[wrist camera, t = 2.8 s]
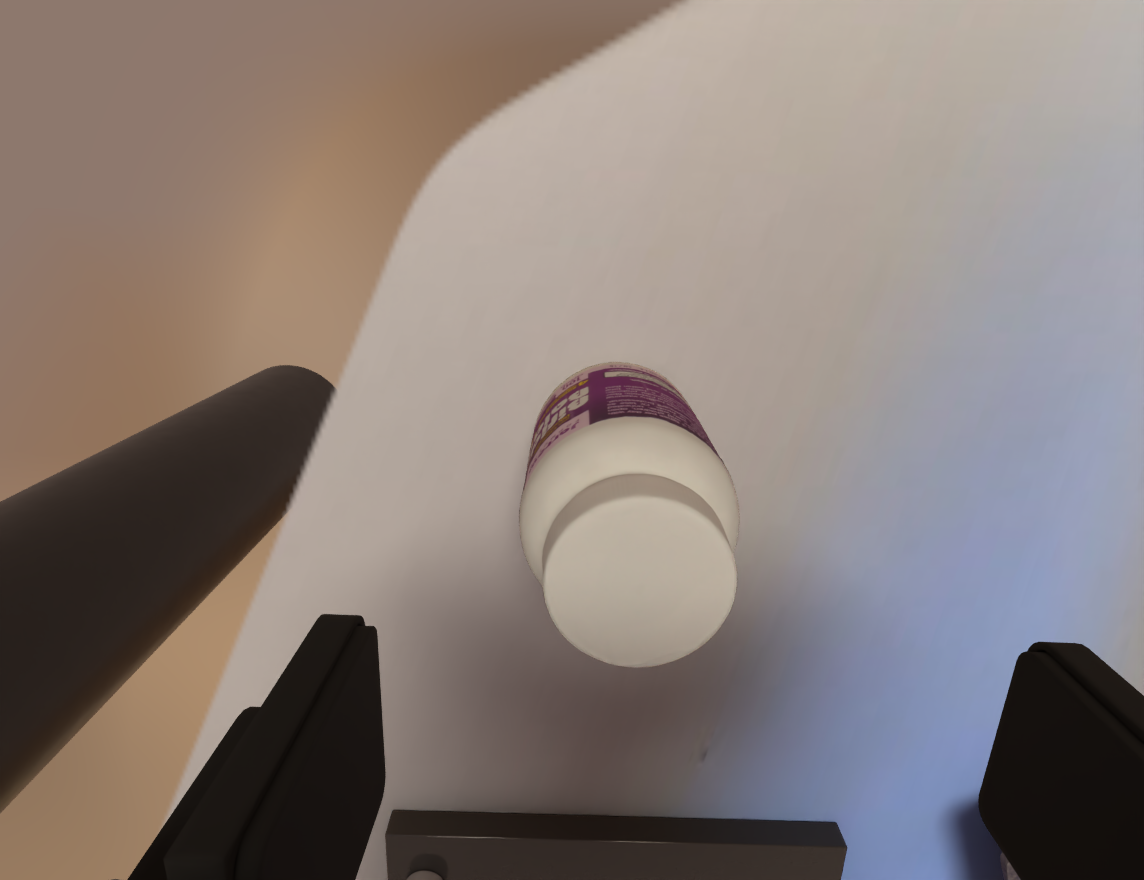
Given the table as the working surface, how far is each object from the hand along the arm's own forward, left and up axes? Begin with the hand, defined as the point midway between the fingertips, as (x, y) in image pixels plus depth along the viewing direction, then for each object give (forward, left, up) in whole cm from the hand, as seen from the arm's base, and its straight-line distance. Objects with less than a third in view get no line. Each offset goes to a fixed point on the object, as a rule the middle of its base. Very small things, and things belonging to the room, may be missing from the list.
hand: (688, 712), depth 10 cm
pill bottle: (0, 0, -14) cm, 14 cm away
